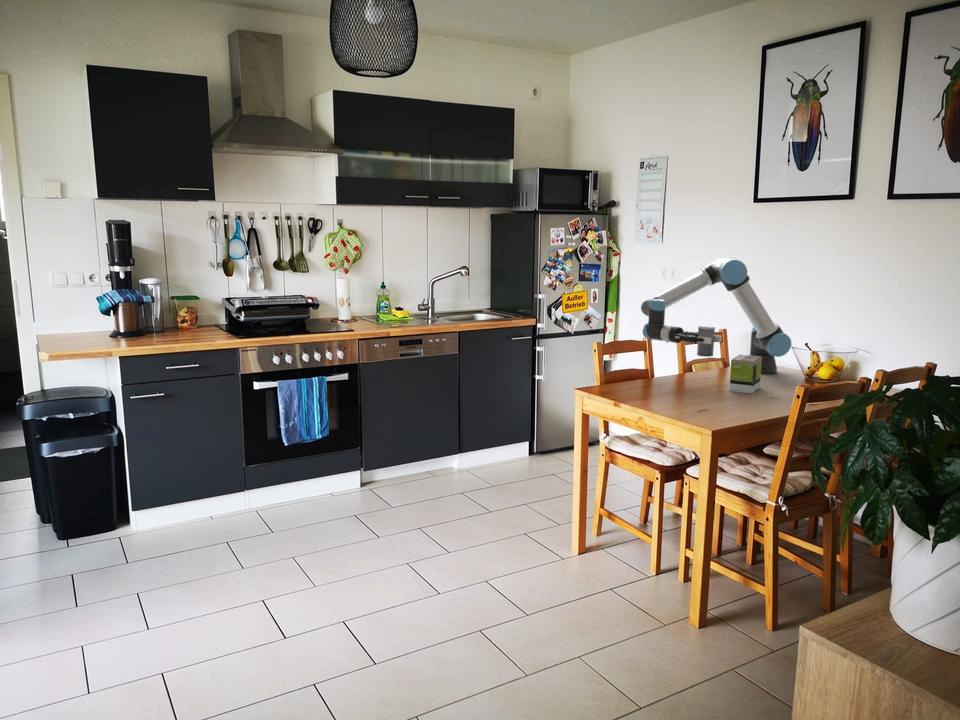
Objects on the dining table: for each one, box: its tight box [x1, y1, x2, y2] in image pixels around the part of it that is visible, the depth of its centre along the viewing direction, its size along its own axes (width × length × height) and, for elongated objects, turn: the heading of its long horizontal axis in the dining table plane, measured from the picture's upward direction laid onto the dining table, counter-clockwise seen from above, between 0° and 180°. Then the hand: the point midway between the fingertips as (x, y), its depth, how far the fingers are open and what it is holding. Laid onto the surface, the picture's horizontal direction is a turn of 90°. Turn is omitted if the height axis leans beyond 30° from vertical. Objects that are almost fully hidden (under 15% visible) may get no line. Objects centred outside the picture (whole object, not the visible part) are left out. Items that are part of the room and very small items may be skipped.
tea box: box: [729, 354, 762, 394], centre depth 321 cm, size 15×10×15 cm
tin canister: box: [696, 325, 716, 358], centre depth 326 cm, size 7×7×13 cm
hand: (715, 340), depth 322 cm, fingers closed on tin canister, 7 cm apart
